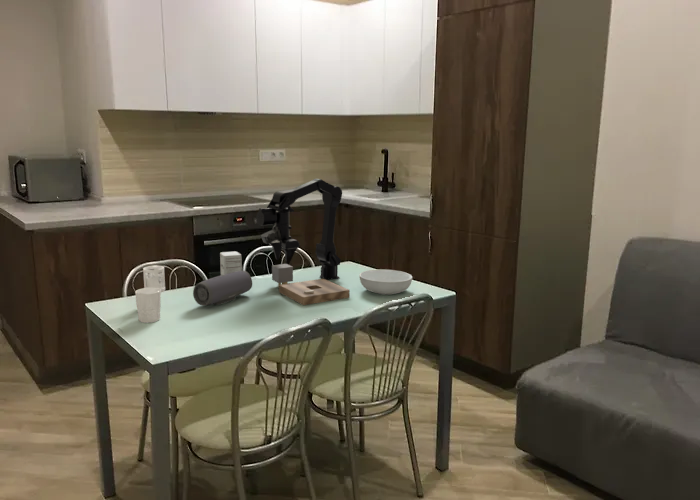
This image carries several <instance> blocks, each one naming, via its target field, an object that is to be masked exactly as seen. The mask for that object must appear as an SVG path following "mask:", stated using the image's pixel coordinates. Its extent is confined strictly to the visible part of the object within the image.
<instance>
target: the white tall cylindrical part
mask: <svg viewBox="0 0 700 500" xmlns="http://www.w3.org/2000/svg"><path fill="white" fill-rule="evenodd" d="M142 270H143V284H144V285H143V286H144V287H143V288H158V289H160V290H161V293H164V292H165V291H166V281H165V280H166V278H165V266H162V265H156V264H155V265H154V264H153V265H149V266H144V267H143V268H142Z"/></svg>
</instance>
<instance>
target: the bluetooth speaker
mask: <svg viewBox="0 0 700 500" xmlns="http://www.w3.org/2000/svg"><path fill="white" fill-rule="evenodd" d="M252 288H253V279H252V276H251V275H250V273H249V272H248V271H246V270H242V271H237V272H232V273H228V274H224V275H221V274H220V275H217V276H214V277H211V278H208V279H206V280H202V281H201V282H199V283H196V284H195V285H194V287H193V290H192V296H193V298H194V300H195V302H196V303H197V304H198V305H199V306H203V307H204V306H209V305H210V306H211V305H213V306H219V305H222V304H226V303H230V302H232V301H234V300H236V297H238V296H240V295H243V294H245V293H247V292H249V291H250V290H251V289H252Z"/></svg>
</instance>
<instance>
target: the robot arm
mask: <svg viewBox="0 0 700 500" xmlns="http://www.w3.org/2000/svg"><path fill="white" fill-rule="evenodd" d="M316 191H317V192H318V193H320V194H321V195H322V196H321V198H322V202H323V204H324V212H323V213H324V215H323V223H322V232H321V233H322V235H321V240H320V242H319V243H316V244H315V251H314V252H315V256H316V258H317V259H318V262H319V263H320V264H321V267H320V275H319V277H320V279H325V280H328V281H330V280H335V279H340V276H338V270H339V269H338V266H340V265H341V262H342V261H341V260H342V259H341V258H340V257H339V256H338V255H337V249H336V244H335V242H334V237H335V236H334V235H335V228H336V227H335V225H336V215H337V208H338V206H339V204H340V203H341V201H342V197H343V190H342V188H341V187H339V186H336V185H333V184H331V183H328V182H327V181H325V180H323V179H321V178H314V179H312V180H310V181H307V182H306V183H304V184H300V185H298V186H296V187H294V188H292V189H291V188H290V189H284V190H279V191H276V192H274V193H273V194H272V198H271V200H270V202H269V203H268V205H267V206H266V207H265V208H264V207H261V208H259V209H258V212H257V214H256V217H255V219H256V223H257V225H258V226H259V227H265V226H272V229H271V230H269V231H266V232H264V233H262V234H261V235H260V237H261V239H262V242H263V243H264V244H266V245H270V246H271V247H272V250H273V253H274V257H275V260H280V257H281V255H282V251H284V257H285V264H288V265H290V263H291V262H292V259H293V256H294V255H295V253H296V251H297V250H298V249H299V248H300V241H298V240H297V239H294V238H292V236H291V235H290V230H292V225H290V213H293V212H295V210H294V209H293V208H292V207H291V205H293V204H295V202H296V201H297V200H298V199H300V198H303V197H305V196H307V195H310V194H311V193H314V192H316Z"/></svg>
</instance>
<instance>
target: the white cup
mask: <svg viewBox="0 0 700 500" xmlns="http://www.w3.org/2000/svg"><path fill="white" fill-rule="evenodd" d="M134 293H135V302H136V309H137V310H136V311H137V316H138V317H137V318H138V321H139V322H140V323H145V324H148V323H155V322H158V321H159V320H161V308H162V307H161V298H162V297H161V294H162V292H161V290H160V289H158V288H144V287H143V288H139V289H137V290H135V292H134Z"/></svg>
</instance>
